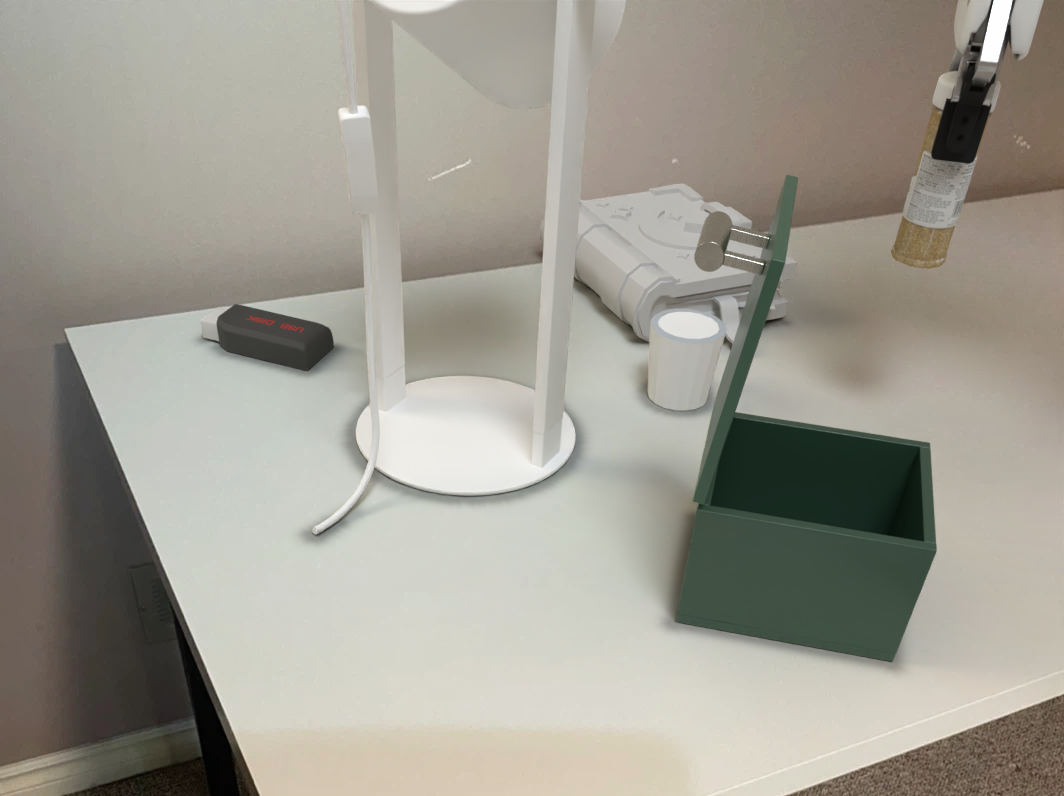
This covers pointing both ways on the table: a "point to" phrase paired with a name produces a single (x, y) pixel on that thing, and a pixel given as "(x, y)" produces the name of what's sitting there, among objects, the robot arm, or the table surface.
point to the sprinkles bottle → (934, 193)
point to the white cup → (683, 357)
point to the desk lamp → (372, 181)
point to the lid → (754, 315)
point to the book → (662, 258)
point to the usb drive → (268, 335)
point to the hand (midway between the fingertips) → (951, 146)
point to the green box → (812, 537)
